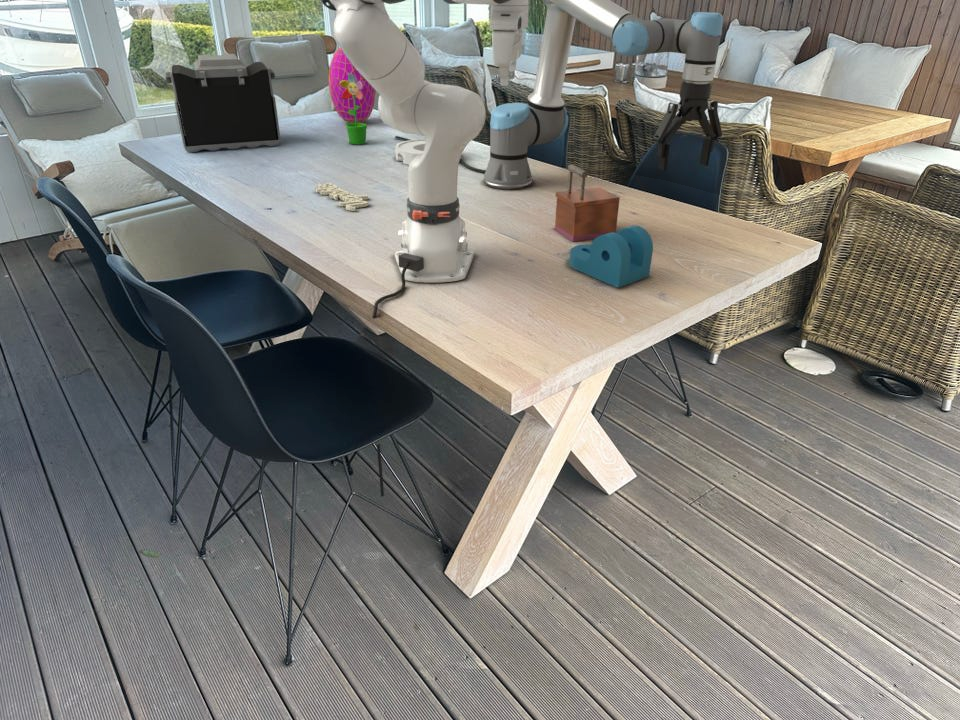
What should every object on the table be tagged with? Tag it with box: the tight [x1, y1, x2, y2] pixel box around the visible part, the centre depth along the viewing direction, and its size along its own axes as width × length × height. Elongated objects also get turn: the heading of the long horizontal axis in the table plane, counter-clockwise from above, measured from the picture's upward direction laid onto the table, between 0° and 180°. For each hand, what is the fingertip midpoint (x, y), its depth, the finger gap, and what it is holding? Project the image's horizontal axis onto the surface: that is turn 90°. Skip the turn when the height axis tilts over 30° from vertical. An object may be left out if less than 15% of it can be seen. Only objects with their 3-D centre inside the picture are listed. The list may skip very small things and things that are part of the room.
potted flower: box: [339, 73, 368, 145], centre depth 255 cm, size 9×8×25 cm
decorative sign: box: [315, 182, 369, 212], centre depth 203 cm, size 26×1×10 cm
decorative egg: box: [328, 46, 377, 124], centre depth 286 cm, size 19×19×30 cm
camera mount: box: [568, 224, 654, 289], centre depth 156 cm, size 18×10×10 cm, turn 39°
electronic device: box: [164, 53, 282, 153], centre depth 252 cm, size 37×22×30 cm, turn 111°
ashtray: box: [394, 138, 462, 166], centre depth 243 cm, size 23×23×4 cm
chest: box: [554, 197, 620, 242], centre depth 178 cm, size 13×10×9 cm
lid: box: [554, 164, 621, 207], centre depth 173 cm, size 13×10×8 cm
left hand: (507, 82), depth 167 cm, fingers open, 8 cm apart
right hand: (682, 166), depth 182 cm, fingers open, 13 cm apart
